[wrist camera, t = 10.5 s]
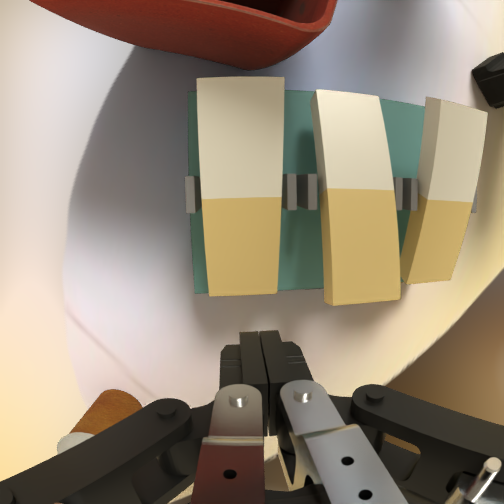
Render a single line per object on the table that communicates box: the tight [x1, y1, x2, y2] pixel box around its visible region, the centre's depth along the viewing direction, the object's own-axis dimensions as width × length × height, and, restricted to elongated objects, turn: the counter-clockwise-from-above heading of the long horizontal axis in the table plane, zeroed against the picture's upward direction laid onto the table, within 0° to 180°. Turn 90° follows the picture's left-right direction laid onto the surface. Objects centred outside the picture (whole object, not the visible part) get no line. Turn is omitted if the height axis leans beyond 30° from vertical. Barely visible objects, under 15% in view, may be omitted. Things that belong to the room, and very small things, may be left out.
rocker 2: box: [310, 89, 401, 306], centre depth 21 cm, size 15×5×2 cm, turn 1°
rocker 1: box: [197, 77, 285, 296], centre depth 21 cm, size 15×5×2 cm, turn 1°
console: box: [185, 90, 477, 294], centre depth 26 cm, size 17×24×10 cm
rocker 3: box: [400, 97, 488, 284], centre depth 22 cm, size 15×5×2 cm, turn 1°
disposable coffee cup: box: [57, 389, 142, 455], centre depth 29 cm, size 10×10×12 cm
